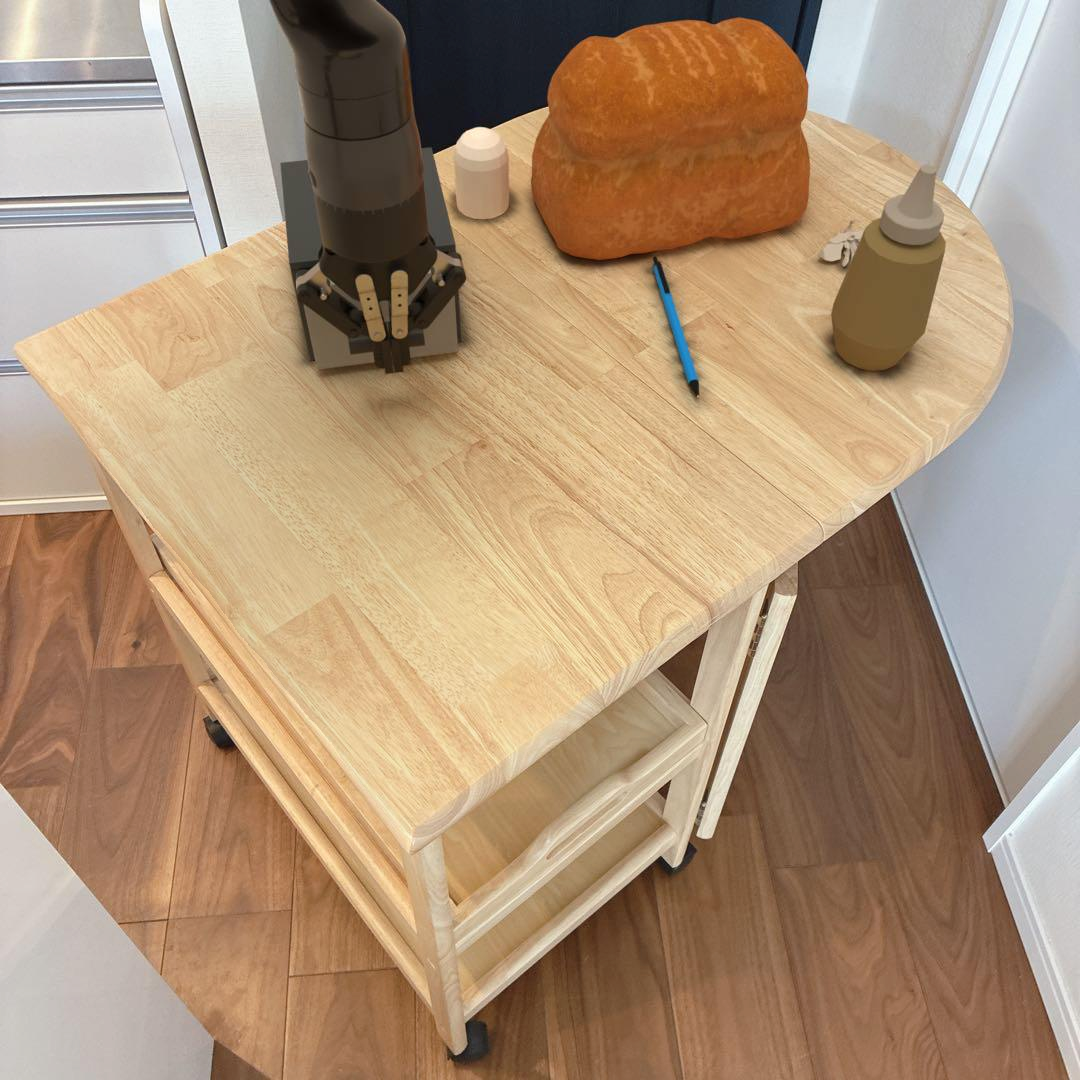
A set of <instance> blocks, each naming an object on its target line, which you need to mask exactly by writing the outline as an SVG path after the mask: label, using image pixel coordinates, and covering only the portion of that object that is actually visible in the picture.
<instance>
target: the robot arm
mask: <svg viewBox="0 0 1080 1080" xmlns="http://www.w3.org/2000/svg"><path fill="white" fill-rule="evenodd" d="M268 1H269V4H270V6H271V8H272V9H271V10H272V11H273V13H274V16H275V18H276V21H277V24H278V25H279V27H280V29H281V31H282V33H283V35H284V38H285V39H286V41H287V44H288V45H289V48H290V50H291V53H292V57H293V62H294V70H295V71H294V72H295V76H296V77H295V78H296V84H297V88H298V94H299V100H300V105H301V111H302V116H303V124H304V148H305V156H306V160H307V161H308V167H309V169H308V175H309V179H310V182H311V185H312V188H313V194H314V200H315V205H316V211H317V216H318V222H319V227H320V233H321V238H322V245H321V248H320V250H319V252H318V259H319V263H317V264H316V265H315V266H314V267H313V268H312V269H310V270H306V269H302V270H299V271H298V272H297V273H296V289H297V297H298V300H299V301H300V302H302V303H303V304H304V305H306V306H307V307H308V308H310V309H311V310H312V311H314V312H315V313H317V314H318V315H319V316H321V317H322V318H323V319H325V320H326V321H327V322H329V323H330V324H332V325H333V326H334V327H336V328H337V329H338V330H340V331H341V332H342V333H344V334H345V335H347V336H348V337H350V338H356V337H358V336H360V335H365V336H368V337H369V338H370V339H371V342H372V348H373V355H374V361H375V362H374V365H375V367H376V368H377V369H378V370H379V369H384V374H385V375H391V374H399V373H400V374H401V373H404V366H409V365H410V363H411V360H412V358H410V349H409V340H408V334H409V333H410V331H411V330H413V329H415V328H418V329H426V328H428V327H429V326H430V325H431V323H432V322H433V321H434V320H435V318H436V317H437V316H438V315H439V313H440V312H441V311H442V310H443V309H444V307H445V306H446V305H447V304H448V302H449V301H450V300H451V299H452V297H453V296H454V295H455V294H456V292H457V291H458V292H459V290H460V289H461V288H462V286H464V284H465V283H466V281H467V274H466V269H465V267H464V262H463V258H462V255H461V254H460V253H459V252H457V251H456V252H452V253H449V254H448V255H447V254H445V253H443V252H441V251H439V250H437V249H436V244H435V241H434V239H433V237H432V236H431V235H430V234H429V232H428V222H427V211H426V200H425V188H424V176H423V174H424V161H423V158H422V154H421V148H422V144H421V136H420V132H419V128H418V124H417V120H416V115H415V108H414V97H413V89H412V77H411V67H410V66H411V65H410V54H409V47H408V42H407V38H406V33H405V32H404V29H403V27H402V25H401V23H400V21H399V20H398V19H397V18H396V17H395V16H394V15H393V13H391V12H390V11H388V10H387V9H386V8H385V7H384V6H383V5H382V4H381V3H379V2H378V1H377V0H268ZM430 269H431V277H430V278H429V279H428V280H427V282H426V283H425V284H424V286H423V287H422V288H421V289H420V291H419V292H418V293H417V295H416V296H415V297H414V298H413V300H412V301H411V304H410V305H408V296H409V295H411V294H412V293H413V292H414V291H415V290H416V289H417V287H418V286H419V284H420V283H421V282H422V280H423V279H424V277H425V276H426V275H427V273H428V272H429V270H430ZM329 280H331V281H332V282H333V283H334V284H335V285H337V286H338V287H339V288H340V289H341V290H343V291H344V292H345V293H346V294H347V295H349V296H350V297H351V298H353V299H354V300H356V301H359V302H361V305H362V309H363V311H362V310H358V308H357V307H356V306H354V305H353V304H352V303H351V302H349V301H348V300H347V299H345V298H344V297H343V296H341V295H340V294H339V293H337V292H336V291H335V290H334V289H332V288H331V284H330V281H329ZM297 297H296V298H297ZM381 301H388V308H389V318H390V321H388V327H387V322H384V317H383V315H382V310H381V306H380V302H381ZM388 329H389V333H388ZM389 337H390V339H389ZM390 344H391V347H390ZM391 352H392V354H391ZM392 359H393V360H392Z"/></svg>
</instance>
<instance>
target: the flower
mask: <svg viewBox="0 0 1080 1080" xmlns="http://www.w3.org/2000/svg"><path fill="white" fill-rule="evenodd" d="M856 221H857V219H854V220H853V219H849V225H848V226H847V227H846V228H845V229H844V232H841V231H840V230H838V231H837V234H836V236H834V237H832V238H831V237H830V238H827V241H828V242H827V244H826V245H825V246H824V248H822V250H821V251H820V252H819V253H818V254H817V256H819V257H820V258H821V259H822V260H824V261H828V262H834V261H838V260H841V258H842V254H843V255H844V258H843V260H842V261H841V265H842V267H843V268H845V267H846V266H847V264H848V263H849V262H851V261H852V259H853V256H854V254H855V251H856V249H857V247H858V244H859V242H860V240H861V237H862V235H863V233H864V231H862V230H861V229H860V228H857V230H856V231H852V229H851V228H852V226H853V225H854V223H855V222H856ZM843 248H845V249H844V250H843ZM842 250H843V252H842ZM850 256H851V257H850Z"/></svg>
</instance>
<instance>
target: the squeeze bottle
mask: <svg viewBox="0 0 1080 1080" xmlns="http://www.w3.org/2000/svg"><path fill="white" fill-rule="evenodd" d="M936 175H937V168H936V167H935V166H934V165H931V164H923V165H922V166H920V167H919V169H918V171H917V173H916V174H915V176H914V177H913V179H912V181H911V183H910V184H909V186H908V187H907V190H906V191H905V192H904V194H899V195H895V196H892V197H890V198H889V199H888V200H887V201H886V202H884V205H883V209H882V212H881V216H880V217H879V218H875V219H874V220H872V221H871V222H870V223H868V224H867V226H866V227H864V231H863V232H864V233H863V235H862V237H861V240H860V242H859V243H858V247H857V249H856V251H855V250H854V252H855V254H854V256H853V259H852V261H851V260H850V263H849V265H848V268H847V270H846V273H845V275H844V277H843V280H842V282H841V284H840V287H839V290H838V291H837V294H836V296H835V298H834V301H833V303H832V308H831V313H830V316H831V324H832V332H833V333H832V334H833V341H834V342H833V343H834V347H835V349H836V352H837V354H838V356H839V357H840V358H841V359H843V360H844V362H846V363H847V364H850V365H851V366H853V367H855V368H857V369H861V370H867V371H872V372H873V371H874V372H875V371H885V370H887V369H891V368H893V367H895V366H896V365H897V364H898V363H899V362H900V361H901V359H902V358H904V356H905V355H906V354H907V353H908V352H909V351H910V350H911V349H912V347H913V346H914V345H916V343H917V342H918V341H919V340H920V339H921V337H923V336H924V334H925V333H926V330H927V324H928V321H929V317H930V313H931V310H932V306H933V301H934V297H935V293H936V290H937V289H936V288H937V284H938V281H939V276H940V272H941V269H942V266H943V265H942V264H943V261H944V256H945V252H946V246H947V242H946V239H945V238H944V236H943V234H942V232H941V228H942V226H943V223H944V219H945V213H944V211H943V209H942V207H941V205H939V204H938V203H936V202H935V201H934V197H935V187H936V177H937V176H936Z"/></svg>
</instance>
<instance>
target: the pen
mask: <svg viewBox="0 0 1080 1080" xmlns="http://www.w3.org/2000/svg"><path fill="white" fill-rule="evenodd" d="M652 261H653V265H652V270H653V273H654V277H655V281H656V284H657V286H658V290H659V293H660V295H661V300H662V302H663V305H664V309H665V312H666V315H667V318H668V322H669V325H670V329H671V332H672V336H673V338H674V341H675V345H676V348H677V352H678V355H679V358H680V361H681V364H682V367H683V371H684V375H685V378H686V380H687V384H688V387H689V388H690V389H691V391H692V392H693V394H694V396H695V397H696V398H697V399H699V398H700V381H699V378H698V375H697V372H696V368H695V366H694V363H693V360H692V359H693V358H692V355H691V353H690V350H689V346H688V343H687V340H686V336H685V334H684V330H683V327H682V325H681V321H680V318H679V315H678V312H677V309H676V305H675V301H674V300H673V296H672V294H671V293H672V292H671V290H670V287H669V283H668V280H667V277H666V274H665V270H664V268H663V264H662V262H661V261H660V260H658V258H657V256H656V255H654V256H652Z"/></svg>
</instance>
